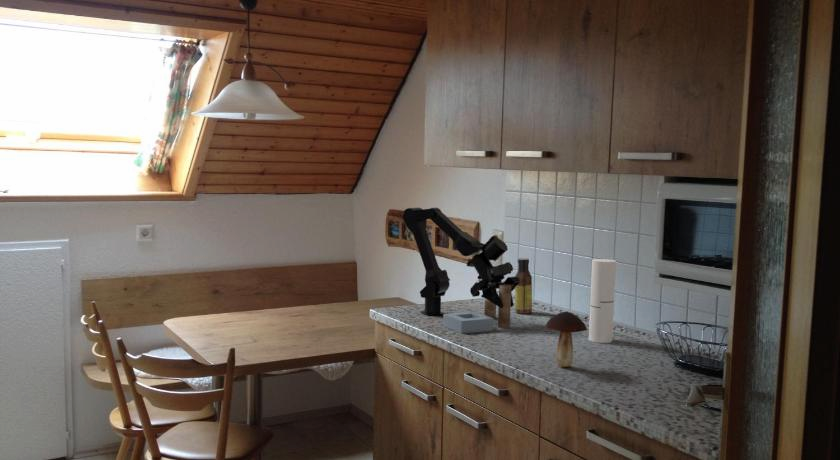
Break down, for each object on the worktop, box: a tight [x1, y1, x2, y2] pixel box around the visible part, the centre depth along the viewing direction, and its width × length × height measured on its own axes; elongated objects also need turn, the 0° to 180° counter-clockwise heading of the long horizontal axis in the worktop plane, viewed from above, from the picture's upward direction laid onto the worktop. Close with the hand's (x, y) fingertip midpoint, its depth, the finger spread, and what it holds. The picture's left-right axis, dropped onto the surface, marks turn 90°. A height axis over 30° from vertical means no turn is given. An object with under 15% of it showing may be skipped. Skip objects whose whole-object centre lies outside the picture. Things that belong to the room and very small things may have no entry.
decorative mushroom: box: [545, 311, 588, 368], centre depth 203 cm, size 11×11×15 cm
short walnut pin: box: [483, 299, 497, 319], centre depth 267 cm, size 4×4×6 cm
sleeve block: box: [442, 311, 495, 334], centre depth 249 cm, size 12×12×4 cm
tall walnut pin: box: [497, 284, 512, 329], centre depth 251 cm, size 4×4×14 cm
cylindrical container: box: [588, 258, 617, 344], centre depth 235 cm, size 7×7×25 cm
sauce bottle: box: [514, 257, 533, 315], centre depth 276 cm, size 7×6×20 cm
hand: (507, 306), depth 250 cm, fingers open, 4 cm apart
